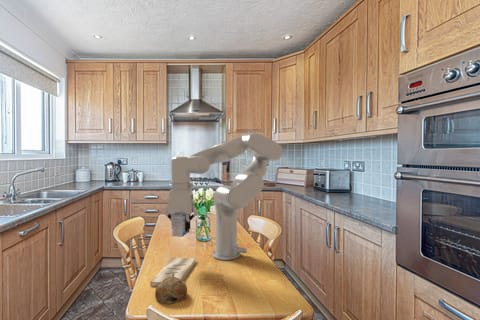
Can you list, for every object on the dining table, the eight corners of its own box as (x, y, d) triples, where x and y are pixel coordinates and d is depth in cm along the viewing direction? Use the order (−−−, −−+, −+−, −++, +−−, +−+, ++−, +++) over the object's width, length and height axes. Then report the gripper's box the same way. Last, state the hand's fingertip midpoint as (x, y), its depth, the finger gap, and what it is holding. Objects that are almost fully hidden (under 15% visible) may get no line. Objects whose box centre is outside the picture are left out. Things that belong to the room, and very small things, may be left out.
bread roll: (156, 315, 92) (158, 297, 89) (152, 289, 100) (153, 271, 97) (188, 308, 96) (190, 291, 93) (181, 283, 104) (183, 266, 101)
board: (195, 261, 127) (195, 258, 127) (178, 287, 103) (178, 282, 103) (172, 261, 128) (172, 257, 128) (150, 285, 104) (150, 281, 104)
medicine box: (182, 237, 119) (182, 215, 119) (171, 236, 120) (171, 215, 120) (189, 231, 127) (189, 211, 127) (179, 231, 128) (179, 211, 127)
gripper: (203, 185, 126) (203, 228, 126) (164, 185, 127) (164, 227, 128) (198, 188, 118) (199, 233, 119) (157, 187, 120) (157, 232, 120)
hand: (181, 230), depth 123 cm, fingers closed on medicine box, 4 cm apart
